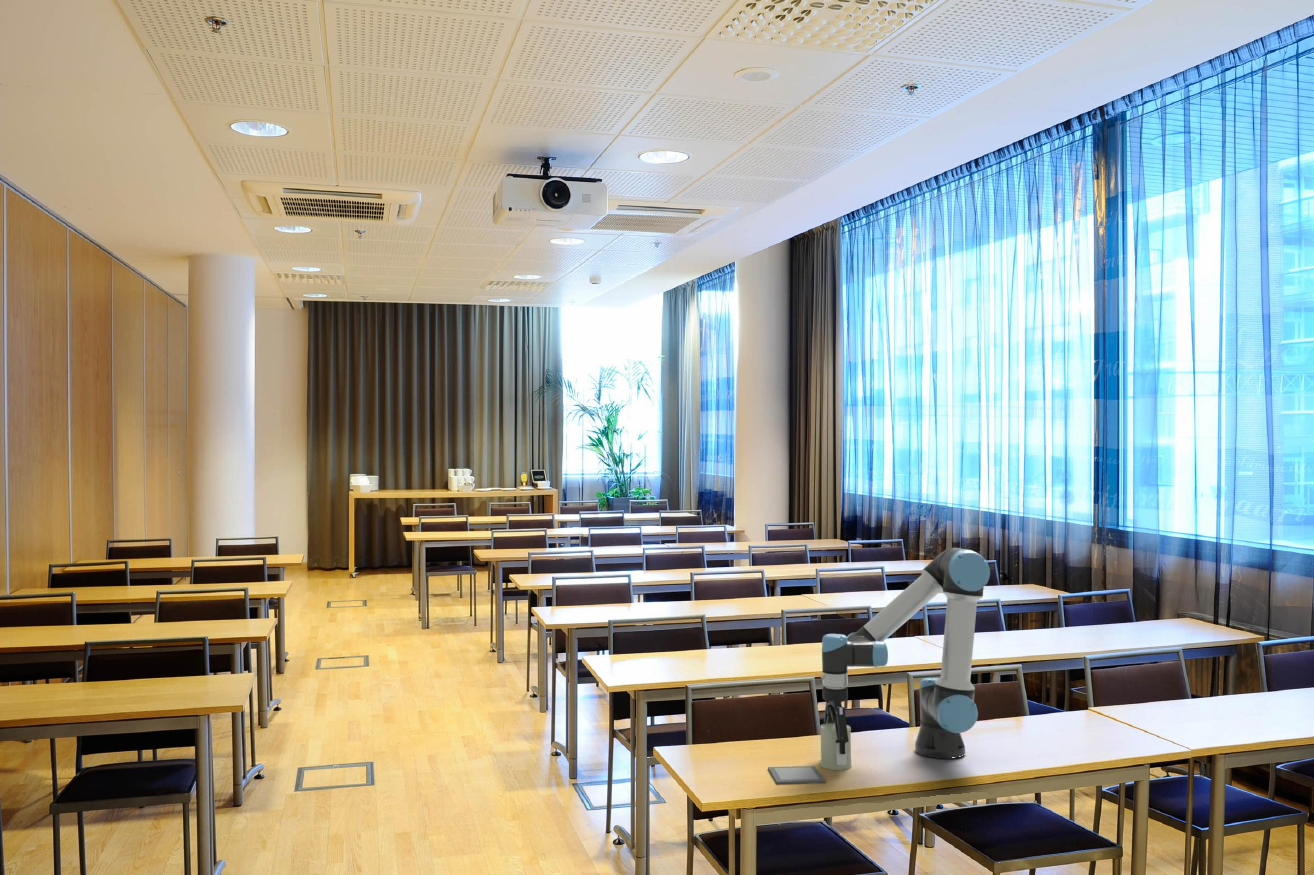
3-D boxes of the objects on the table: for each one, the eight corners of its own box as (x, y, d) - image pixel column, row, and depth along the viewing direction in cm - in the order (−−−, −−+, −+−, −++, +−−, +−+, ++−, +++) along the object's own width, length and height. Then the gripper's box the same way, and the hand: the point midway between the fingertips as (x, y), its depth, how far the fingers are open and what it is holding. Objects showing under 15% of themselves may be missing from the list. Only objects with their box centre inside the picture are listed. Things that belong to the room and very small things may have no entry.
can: (836, 772, 276) (836, 730, 277) (814, 764, 284) (813, 724, 284) (858, 766, 282) (857, 725, 282) (835, 759, 289) (834, 719, 290)
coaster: (814, 768, 280) (814, 765, 280) (825, 782, 266) (825, 780, 266) (768, 769, 280) (768, 766, 280) (776, 784, 266) (776, 781, 266)
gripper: (813, 678, 296) (814, 746, 295) (832, 696, 271) (833, 770, 270) (836, 677, 297) (837, 745, 296) (858, 695, 272) (859, 770, 271)
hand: (835, 757), depth 283 cm, fingers open, 13 cm apart
